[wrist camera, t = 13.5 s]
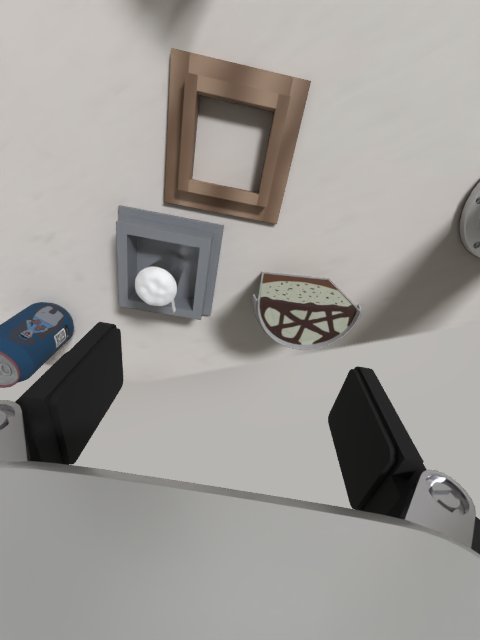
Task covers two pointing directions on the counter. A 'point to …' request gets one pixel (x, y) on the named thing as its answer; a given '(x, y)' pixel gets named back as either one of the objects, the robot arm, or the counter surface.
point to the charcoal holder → (159, 239)
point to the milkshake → (160, 280)
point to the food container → (303, 310)
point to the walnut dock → (241, 88)
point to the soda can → (31, 340)
